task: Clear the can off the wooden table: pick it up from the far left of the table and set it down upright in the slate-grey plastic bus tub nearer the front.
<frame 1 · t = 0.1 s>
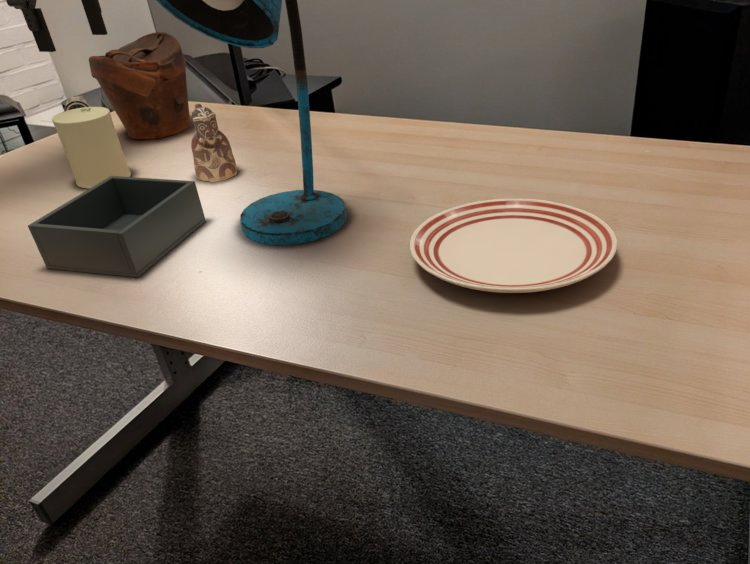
hand: (75, 42, 115), 21 cm above the table, tool pointing down, fingers open, 13 cm apart
can: (104, 179, 118), on the table
watch: (96, 155, 129), on the table
figurine: (217, 175, 118), on the table
bus tub: (130, 243, 96), on the table
dinner plate: (511, 258, 89), on the table
desk lamp: (287, 227, 99), on the table
case: (158, 131, 140), on the table
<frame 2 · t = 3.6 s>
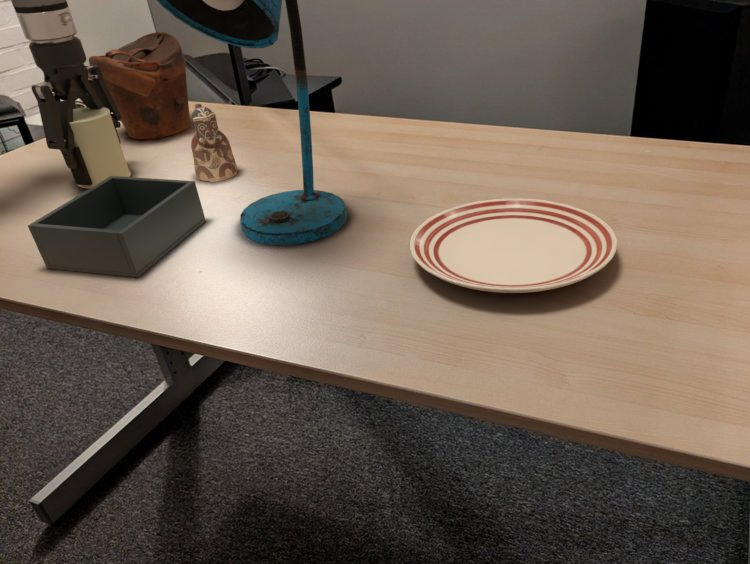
hand: (102, 173, 117), 1 cm above the table, tool pointing down, fingers closed on can, 9 cm apart
can: (104, 179, 118), on the table, touching gripper
everything else where it was.
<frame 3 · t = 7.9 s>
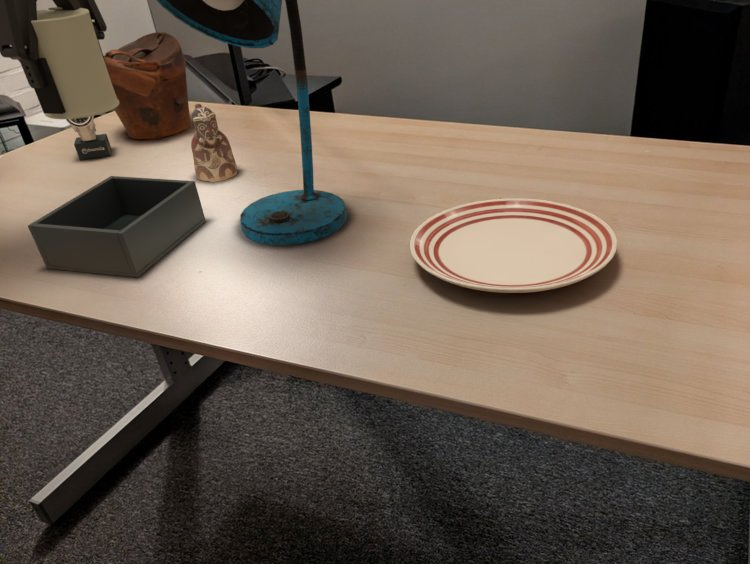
hand: (80, 101, 87), 20 cm above the table, tool pointing down, fingers closed on can, 9 cm apart
can: (83, 110, 87), point 19 cm above the table, touching gripper
everything else where it was.
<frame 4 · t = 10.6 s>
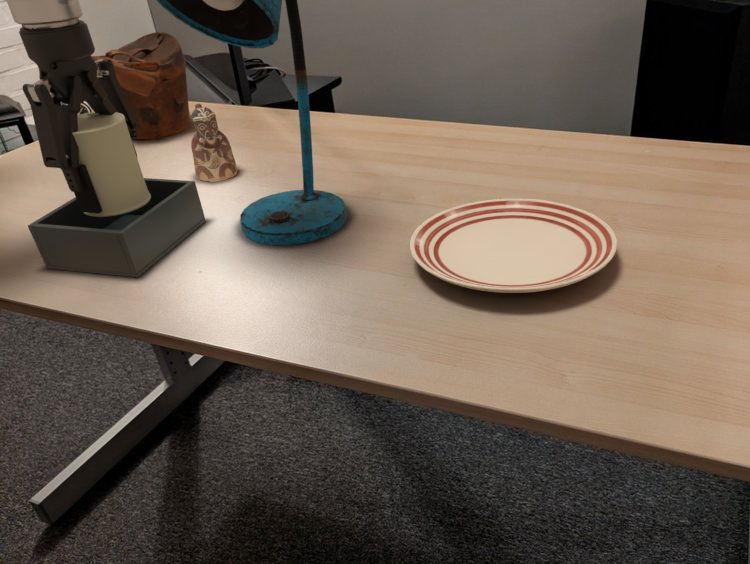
hand: (114, 197, 92), 7 cm above the table, tool pointing down, fingers closed on can, 9 cm apart
can: (117, 204, 93), point 6 cm above the table, touching gripper
everything else where it was.
when the fingers open (1 cm above the table, at t = 12.6 s): can stays where it is, resting on bus tub.
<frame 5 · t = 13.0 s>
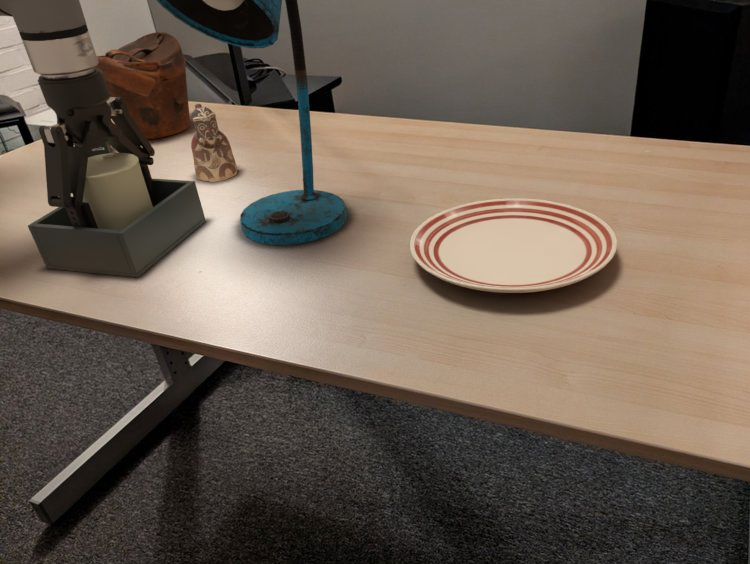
hand: (124, 226, 95), 3 cm above the table, tool pointing down, fingers open, 12 cm apart
can: (130, 241, 96), resting on bus tub
everything else where it was.
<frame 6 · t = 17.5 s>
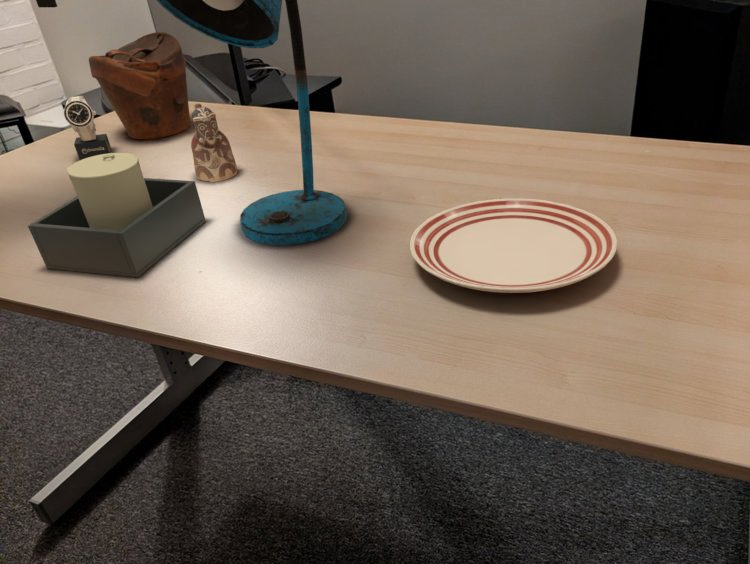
hand: (13, 15, 91), 29 cm above the table, tool pointing down, fingers open, 13 cm apart
nothing on the table moved.
at the end: can inside the target area in the bus tub (0.1 cm from its centre), point 0.4 cm above the bus tub's base; can tilted 0° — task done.
